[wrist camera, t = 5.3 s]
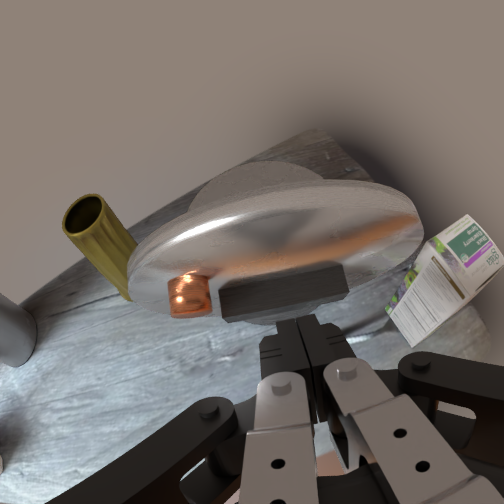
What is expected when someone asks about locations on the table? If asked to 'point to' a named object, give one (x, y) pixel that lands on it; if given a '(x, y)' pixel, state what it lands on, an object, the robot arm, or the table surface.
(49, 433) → the table surface
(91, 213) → the vase
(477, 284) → the syrup box
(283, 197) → the pot lid
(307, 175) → the steel pot
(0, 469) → the pepper shaker
